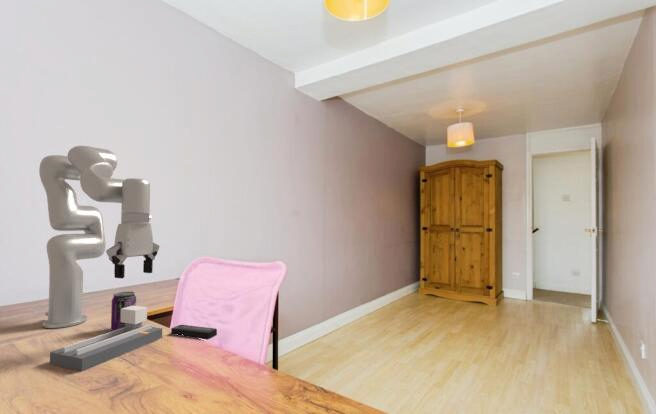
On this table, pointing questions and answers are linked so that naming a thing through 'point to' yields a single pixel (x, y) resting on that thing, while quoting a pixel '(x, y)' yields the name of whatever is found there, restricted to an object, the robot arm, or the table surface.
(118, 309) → the beverage can
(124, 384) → the table surface
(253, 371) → the table surface
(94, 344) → the fader console
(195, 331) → the multiport hub
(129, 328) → the fader knob
